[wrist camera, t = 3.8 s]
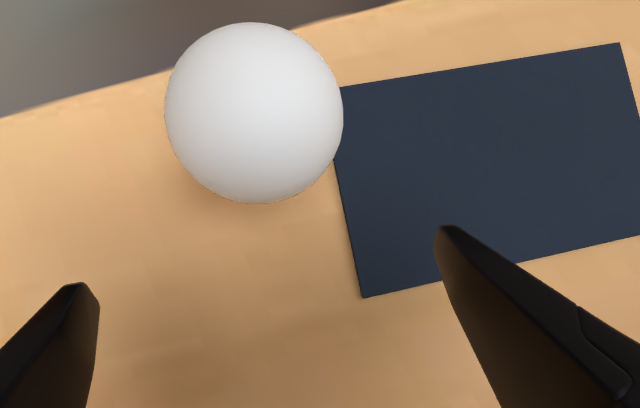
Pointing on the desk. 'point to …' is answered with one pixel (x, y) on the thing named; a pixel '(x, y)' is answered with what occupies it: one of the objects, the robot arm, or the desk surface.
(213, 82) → the white rounded smooth part
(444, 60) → the desk surface
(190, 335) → the desk surface
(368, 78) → the desk surface
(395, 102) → the felt mat
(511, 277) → the robot arm
